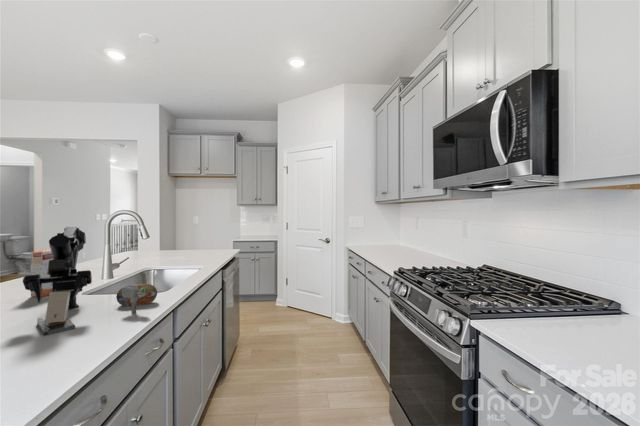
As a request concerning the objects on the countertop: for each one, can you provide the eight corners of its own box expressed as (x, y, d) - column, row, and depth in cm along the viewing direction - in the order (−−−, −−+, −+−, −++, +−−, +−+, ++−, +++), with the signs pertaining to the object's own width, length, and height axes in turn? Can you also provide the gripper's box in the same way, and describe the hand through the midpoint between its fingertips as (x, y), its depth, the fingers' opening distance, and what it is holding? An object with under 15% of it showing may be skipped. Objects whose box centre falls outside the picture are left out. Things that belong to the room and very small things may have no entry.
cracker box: (43, 297, 141) (42, 251, 141) (30, 297, 141) (29, 251, 141) (68, 289, 155) (68, 248, 155) (56, 289, 155) (56, 247, 155)
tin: (116, 307, 128) (116, 287, 128) (118, 305, 131) (118, 285, 131) (156, 303, 134) (156, 284, 134) (157, 301, 137) (157, 282, 137)
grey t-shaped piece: (142, 314, 119) (142, 289, 119) (119, 312, 121) (119, 287, 121) (147, 312, 122) (147, 287, 122) (125, 310, 124) (125, 285, 124)
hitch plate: (37, 324, 108) (37, 317, 108) (66, 318, 114) (66, 312, 114) (43, 335, 99) (43, 328, 99) (75, 328, 105) (75, 321, 105)
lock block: (48, 321, 108) (52, 291, 110) (66, 319, 110) (70, 291, 112) (44, 322, 104) (49, 292, 106) (63, 321, 106) (68, 291, 108)
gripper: (24, 252, 107) (14, 291, 97) (91, 248, 116) (87, 284, 107) (30, 270, 113) (21, 309, 104) (93, 266, 123) (90, 300, 114)
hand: (56, 300), depth 107 cm, fingers open, 9 cm apart
